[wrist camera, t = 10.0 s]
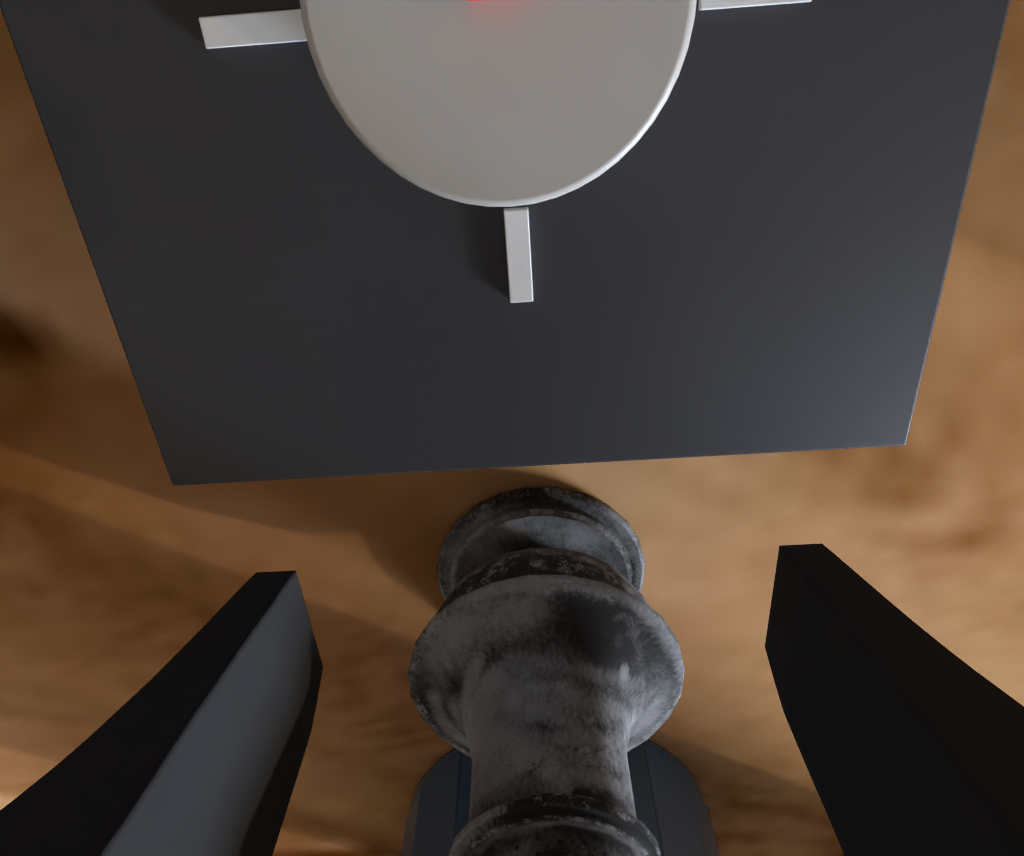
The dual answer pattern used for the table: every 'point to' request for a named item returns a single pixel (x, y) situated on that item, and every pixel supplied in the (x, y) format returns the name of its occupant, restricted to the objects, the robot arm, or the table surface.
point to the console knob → (498, 87)
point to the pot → (656, 791)
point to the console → (516, 244)
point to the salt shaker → (546, 674)
